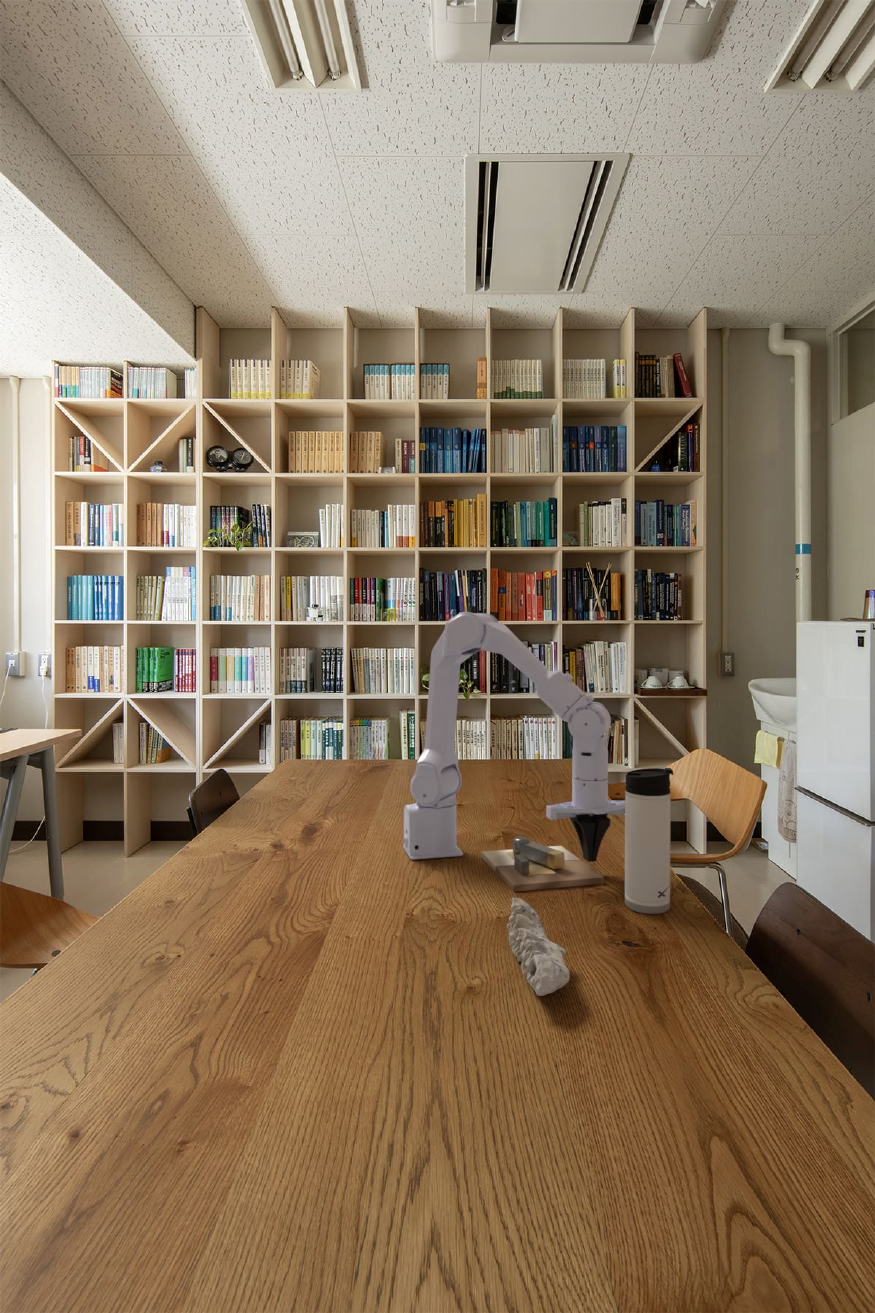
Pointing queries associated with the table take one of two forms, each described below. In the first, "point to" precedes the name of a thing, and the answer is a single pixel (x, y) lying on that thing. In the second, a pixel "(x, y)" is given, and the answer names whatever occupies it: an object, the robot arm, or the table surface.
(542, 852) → the latch bar
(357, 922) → the table surface
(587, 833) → the robot arm
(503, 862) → the door board
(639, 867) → the travel mug
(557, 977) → the fossil
